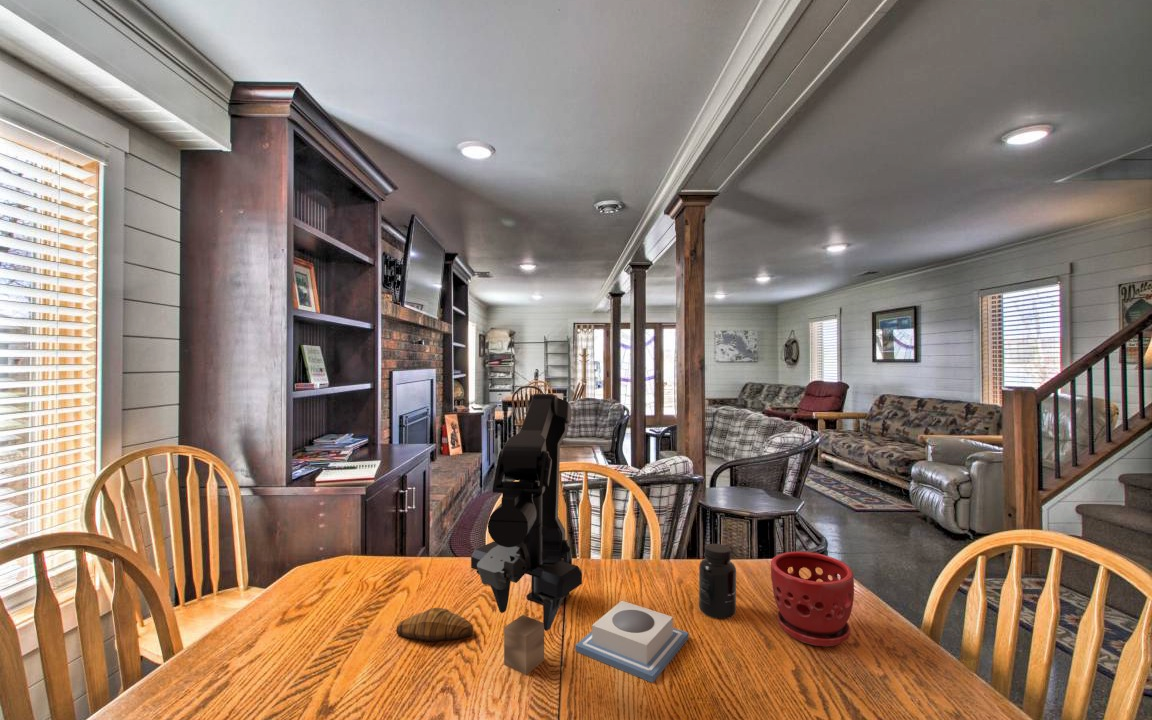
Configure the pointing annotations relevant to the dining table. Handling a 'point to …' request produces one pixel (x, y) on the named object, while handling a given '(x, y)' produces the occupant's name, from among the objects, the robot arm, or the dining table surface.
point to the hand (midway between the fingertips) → (524, 620)
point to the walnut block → (524, 644)
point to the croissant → (435, 626)
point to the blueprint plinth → (634, 640)
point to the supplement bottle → (717, 582)
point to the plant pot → (813, 597)
